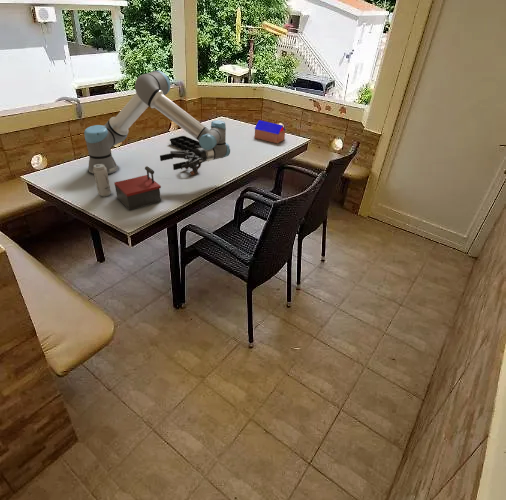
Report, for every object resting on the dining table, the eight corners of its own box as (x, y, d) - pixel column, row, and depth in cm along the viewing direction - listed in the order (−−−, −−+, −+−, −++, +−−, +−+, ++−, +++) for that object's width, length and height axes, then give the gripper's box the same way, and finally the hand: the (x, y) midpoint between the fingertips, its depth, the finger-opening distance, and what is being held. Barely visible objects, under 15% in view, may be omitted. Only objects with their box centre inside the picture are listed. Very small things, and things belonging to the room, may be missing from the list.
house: (277, 143, 251) (278, 127, 245) (253, 137, 260) (254, 121, 253) (285, 139, 260) (286, 123, 253) (262, 134, 268) (263, 118, 261)
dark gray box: (147, 190, 181) (145, 177, 176) (160, 201, 171) (159, 188, 167) (117, 197, 172) (114, 184, 168) (129, 210, 163) (127, 196, 159)
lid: (147, 177, 177) (145, 162, 172) (161, 188, 168) (159, 173, 163) (114, 184, 168) (111, 169, 163) (127, 196, 159) (124, 181, 154)
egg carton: (199, 156, 223) (199, 150, 221) (163, 146, 234) (163, 140, 232) (215, 149, 235) (215, 143, 233) (180, 139, 247) (180, 134, 245)
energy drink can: (109, 197, 172) (103, 168, 163) (97, 196, 172) (90, 168, 163) (112, 191, 177) (107, 163, 168) (100, 191, 176) (94, 163, 168)
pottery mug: (187, 177, 196) (181, 164, 193) (183, 178, 204) (176, 165, 202) (205, 169, 200) (199, 155, 197) (200, 170, 208) (194, 157, 206)
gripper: (216, 169, 177) (180, 178, 166) (191, 154, 193) (156, 161, 181) (216, 154, 173) (178, 163, 162) (190, 140, 188) (154, 147, 177)
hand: (166, 162), depth 172 cm, fingers open, 13 cm apart
